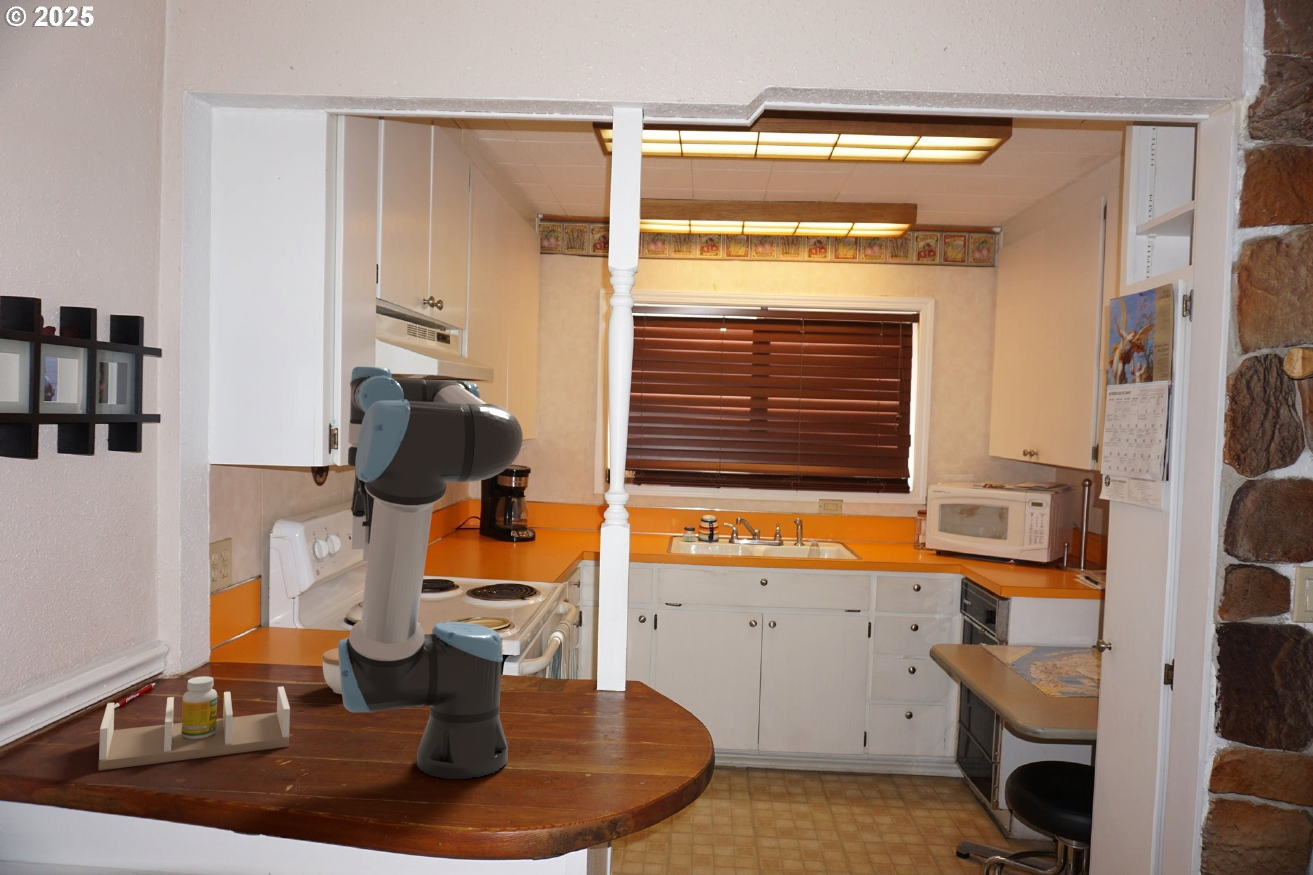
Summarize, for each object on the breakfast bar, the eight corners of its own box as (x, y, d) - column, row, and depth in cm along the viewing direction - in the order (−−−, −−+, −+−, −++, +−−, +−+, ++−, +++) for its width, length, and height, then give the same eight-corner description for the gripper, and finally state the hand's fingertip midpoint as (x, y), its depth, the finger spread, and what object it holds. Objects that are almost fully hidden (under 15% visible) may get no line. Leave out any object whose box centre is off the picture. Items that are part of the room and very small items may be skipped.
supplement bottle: (184, 730, 152) (185, 675, 152) (218, 727, 154) (219, 674, 154) (178, 741, 147) (180, 685, 147) (213, 738, 149) (215, 683, 149)
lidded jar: (348, 701, 175) (350, 655, 175) (309, 691, 180) (311, 647, 179) (386, 687, 185) (388, 643, 185) (348, 678, 189) (349, 636, 189)
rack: (288, 746, 151) (290, 709, 151) (98, 770, 138) (99, 729, 138) (282, 719, 163) (283, 685, 163) (106, 739, 150) (107, 702, 150)
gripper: (401, 450, 160) (397, 564, 161) (376, 443, 182) (372, 543, 183) (359, 449, 157) (354, 566, 157) (339, 442, 179) (335, 544, 179)
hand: (364, 554), depth 170 cm, fingers open, 13 cm apart
